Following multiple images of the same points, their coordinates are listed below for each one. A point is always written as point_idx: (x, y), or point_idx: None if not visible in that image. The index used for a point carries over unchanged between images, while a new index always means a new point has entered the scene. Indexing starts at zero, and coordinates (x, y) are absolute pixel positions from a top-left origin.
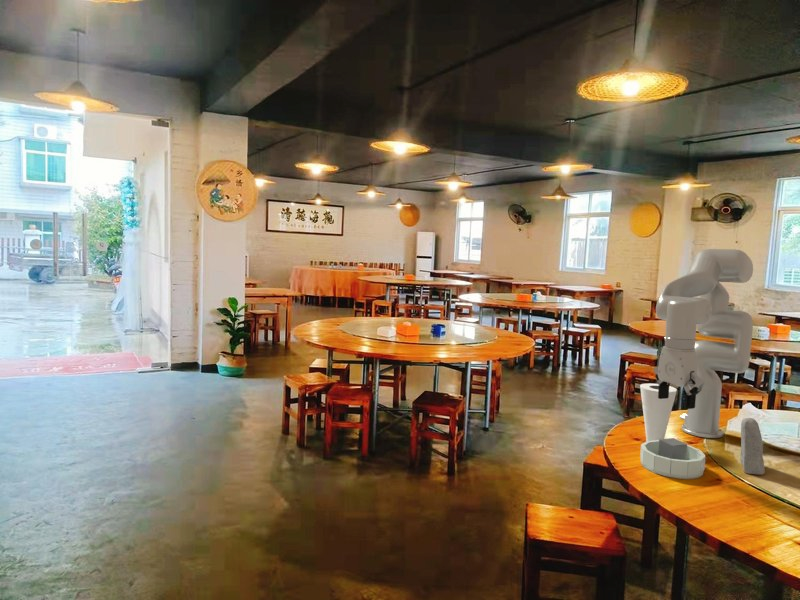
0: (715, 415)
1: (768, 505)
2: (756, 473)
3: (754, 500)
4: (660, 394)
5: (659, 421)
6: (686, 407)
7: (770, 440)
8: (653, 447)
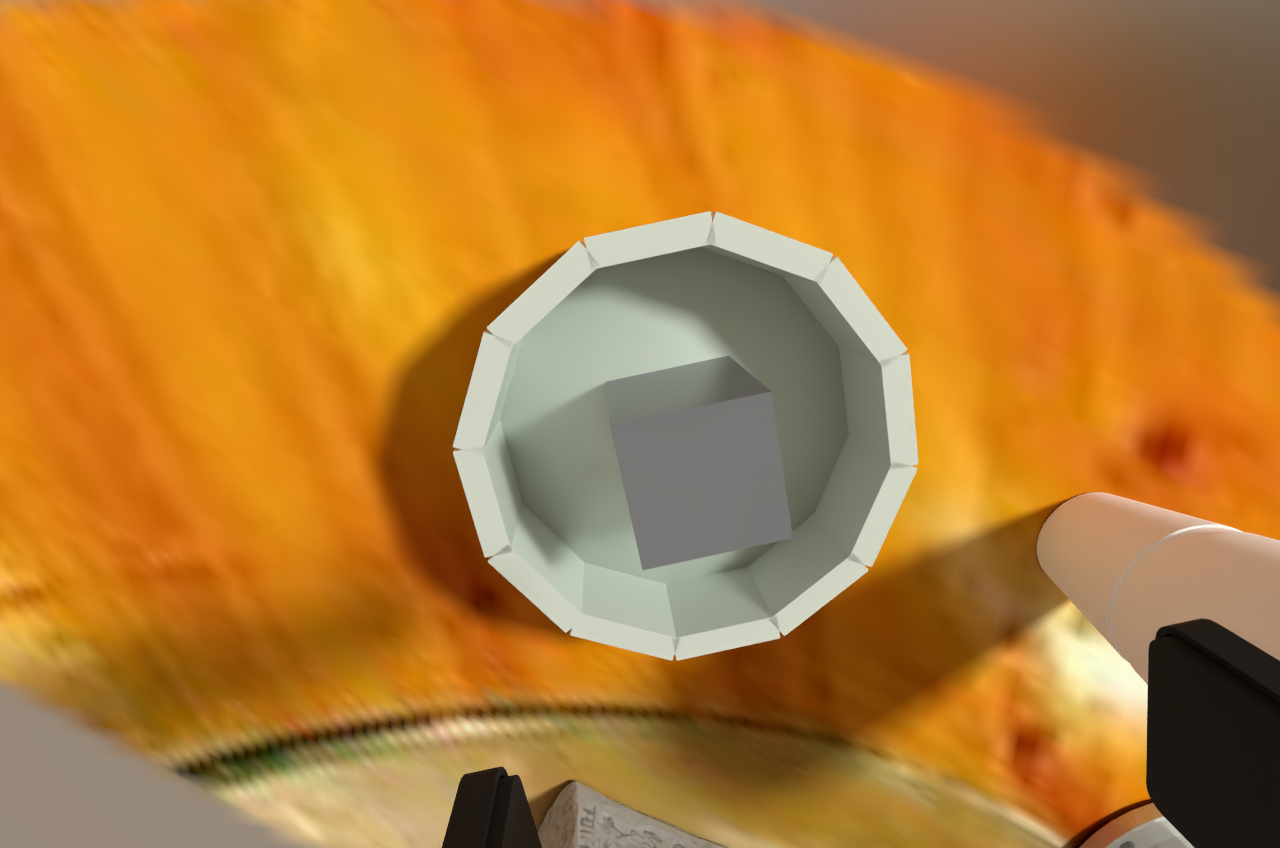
0: None
1: (155, 660)
2: (541, 825)
3: (211, 628)
4: (1240, 695)
5: (1166, 621)
6: (467, 805)
7: None
8: (864, 396)
